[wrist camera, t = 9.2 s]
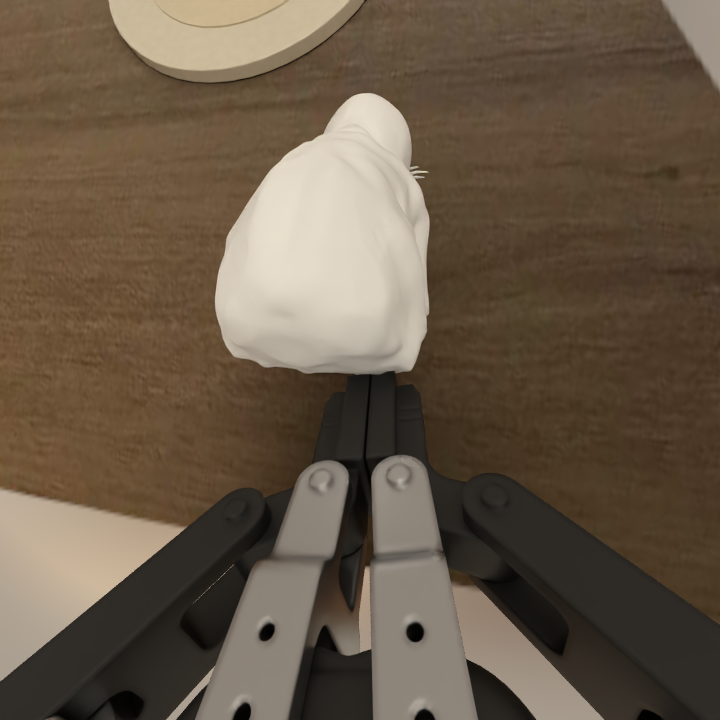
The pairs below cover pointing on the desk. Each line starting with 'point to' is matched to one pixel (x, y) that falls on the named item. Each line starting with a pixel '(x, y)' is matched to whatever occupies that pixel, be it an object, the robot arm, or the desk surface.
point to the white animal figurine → (332, 253)
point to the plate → (226, 33)
